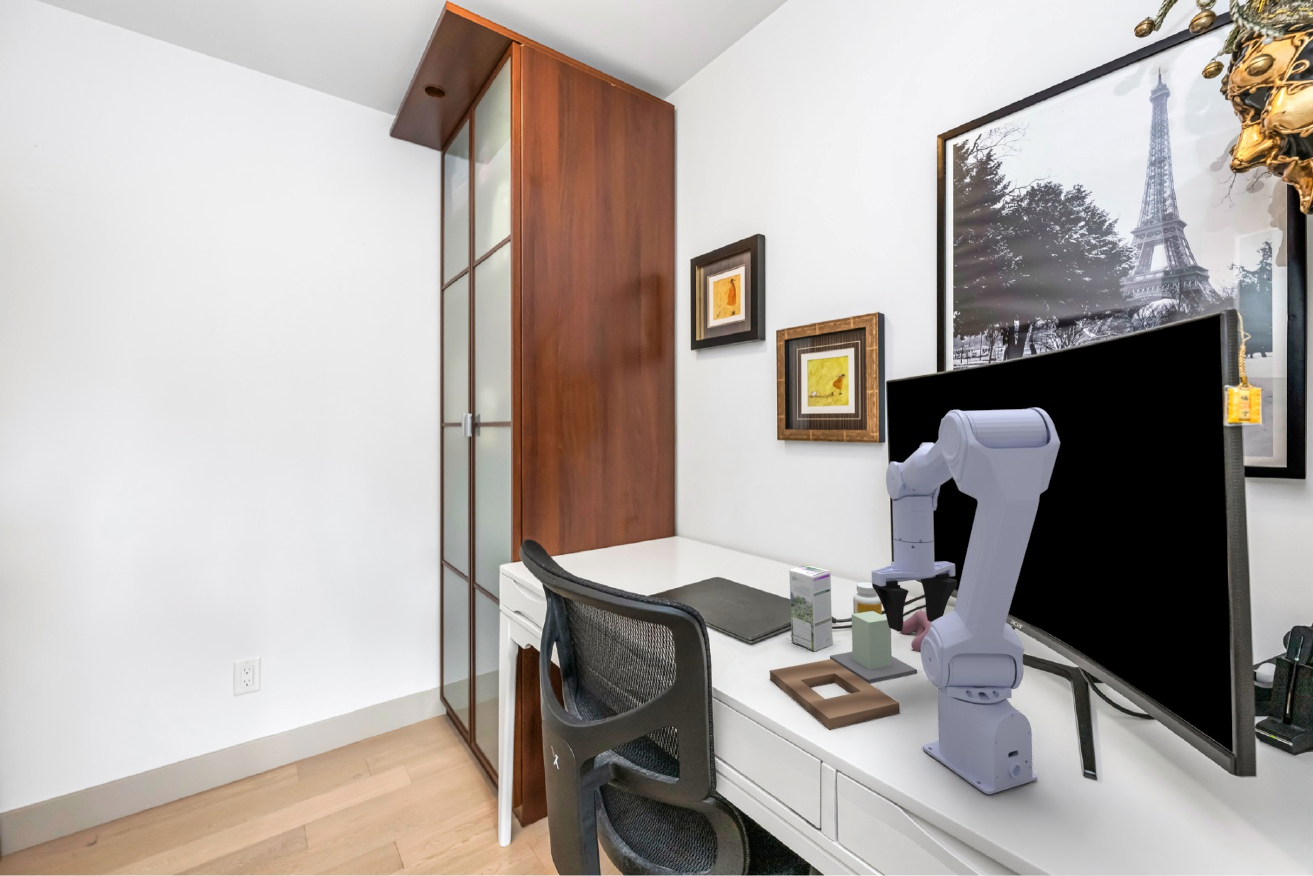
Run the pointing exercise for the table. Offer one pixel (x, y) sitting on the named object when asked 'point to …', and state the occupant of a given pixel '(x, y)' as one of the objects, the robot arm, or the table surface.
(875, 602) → the supplement bottle
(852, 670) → the charcoal mat
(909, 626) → the video game controller
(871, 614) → the sage block
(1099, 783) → the table surface
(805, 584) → the syrup box
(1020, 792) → the table surface
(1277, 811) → the table surface
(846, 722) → the board
